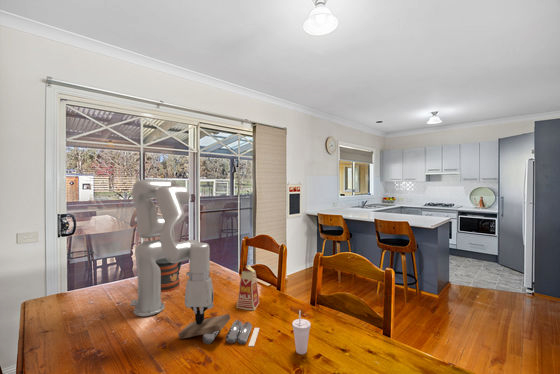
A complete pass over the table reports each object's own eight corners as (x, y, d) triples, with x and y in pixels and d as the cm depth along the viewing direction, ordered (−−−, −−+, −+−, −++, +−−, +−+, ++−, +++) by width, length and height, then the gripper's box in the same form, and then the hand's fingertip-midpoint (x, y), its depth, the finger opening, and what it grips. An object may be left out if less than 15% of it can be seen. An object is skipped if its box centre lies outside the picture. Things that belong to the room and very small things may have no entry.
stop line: (248, 346, 94) (248, 345, 94) (254, 328, 106) (254, 327, 106) (253, 346, 94) (253, 345, 94) (259, 328, 106) (259, 327, 106)
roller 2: (238, 339, 96) (231, 330, 96) (230, 345, 96) (223, 336, 96) (244, 326, 105) (238, 318, 105) (237, 332, 105) (230, 324, 105)
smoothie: (291, 345, 94) (291, 306, 94) (308, 344, 95) (308, 306, 95) (293, 357, 88) (293, 315, 88) (312, 356, 88) (312, 314, 88)
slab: (179, 339, 98) (178, 334, 98) (191, 327, 106) (190, 322, 106) (220, 330, 94) (219, 324, 94) (230, 318, 102) (228, 313, 102)
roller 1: (214, 341, 95) (209, 331, 95) (205, 346, 96) (200, 336, 96) (223, 328, 104) (218, 319, 104) (215, 332, 105) (210, 323, 105)
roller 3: (240, 332, 96) (235, 341, 96) (248, 338, 95) (243, 346, 95) (245, 320, 104) (241, 327, 105) (253, 325, 104) (249, 332, 104)
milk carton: (254, 310, 121) (254, 267, 121) (235, 308, 123) (235, 266, 123) (260, 302, 130) (259, 261, 130) (242, 300, 132) (242, 260, 132)
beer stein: (169, 280, 161) (169, 247, 161) (189, 282, 157) (189, 249, 157) (145, 291, 143) (145, 255, 143) (167, 295, 139) (167, 257, 138)
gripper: (176, 278, 99) (176, 326, 99) (215, 279, 97) (215, 328, 97) (185, 271, 106) (185, 317, 106) (221, 272, 105) (221, 318, 105)
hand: (199, 322), depth 102 cm, fingers closed
